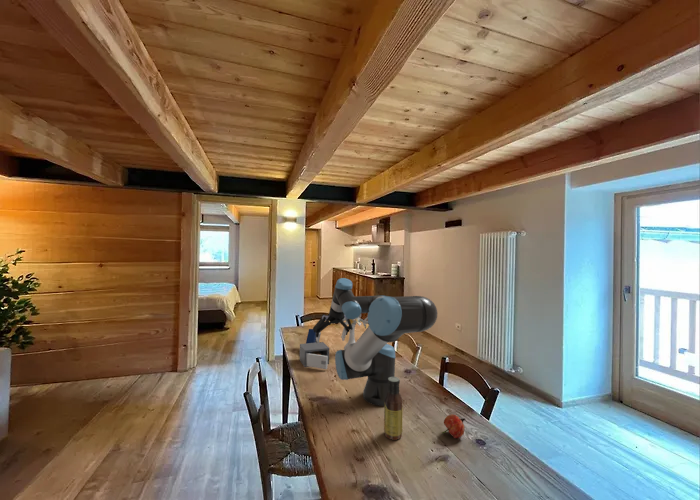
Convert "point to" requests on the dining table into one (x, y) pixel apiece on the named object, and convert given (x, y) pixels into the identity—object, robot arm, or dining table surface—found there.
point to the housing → (313, 351)
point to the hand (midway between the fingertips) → (330, 340)
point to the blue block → (311, 336)
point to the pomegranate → (454, 425)
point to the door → (316, 361)
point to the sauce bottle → (393, 410)
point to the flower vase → (353, 323)
